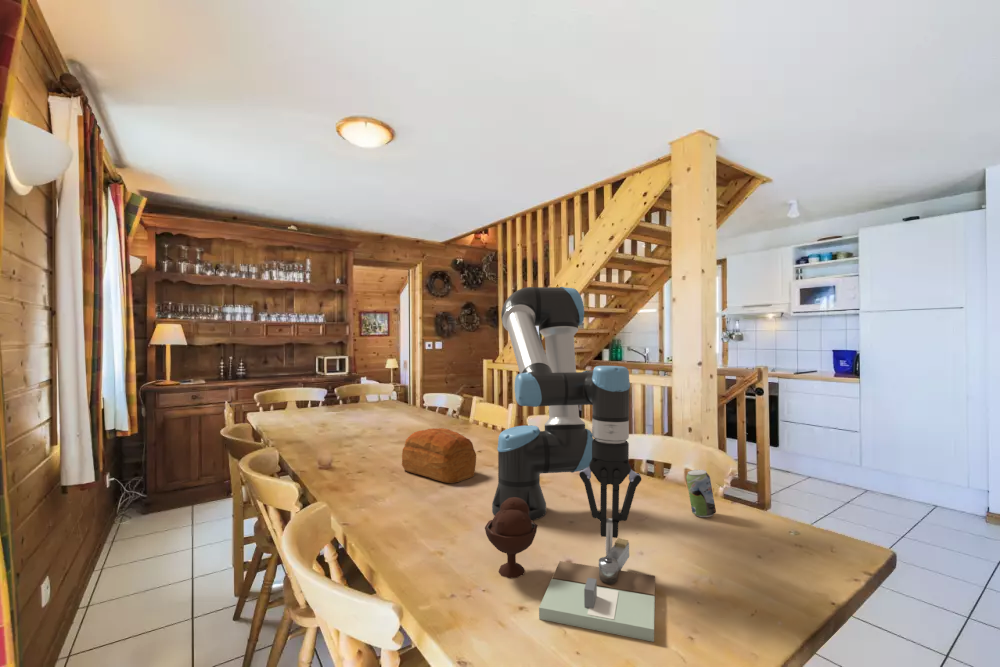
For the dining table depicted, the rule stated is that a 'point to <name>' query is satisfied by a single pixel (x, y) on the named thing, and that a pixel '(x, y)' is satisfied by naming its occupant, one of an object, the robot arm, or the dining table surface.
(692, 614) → the dining table surface
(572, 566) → the strip
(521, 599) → the dining table surface
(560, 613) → the door slab
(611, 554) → the bar
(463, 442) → the bread
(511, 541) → the ice cream bowl
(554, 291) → the robot arm
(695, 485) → the beverage can
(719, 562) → the dining table surface
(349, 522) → the dining table surface
